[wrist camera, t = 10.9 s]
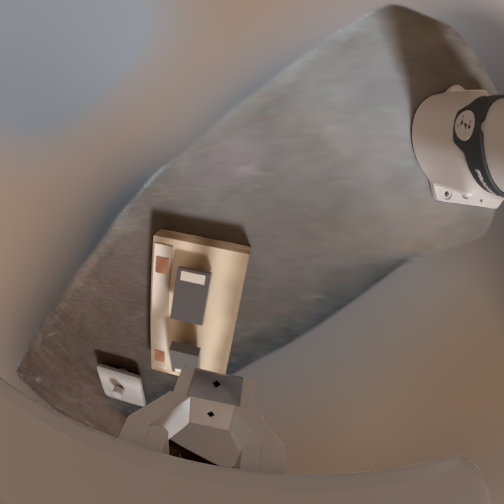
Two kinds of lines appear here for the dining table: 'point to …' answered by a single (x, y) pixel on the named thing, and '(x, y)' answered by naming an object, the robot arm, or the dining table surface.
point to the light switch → (121, 384)
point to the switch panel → (218, 304)
